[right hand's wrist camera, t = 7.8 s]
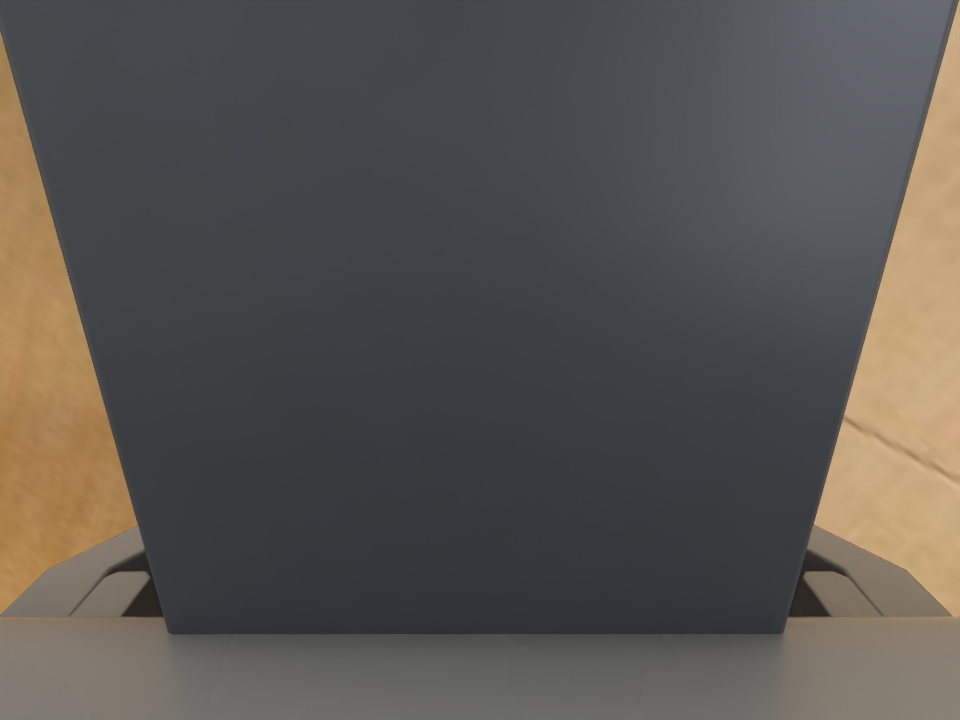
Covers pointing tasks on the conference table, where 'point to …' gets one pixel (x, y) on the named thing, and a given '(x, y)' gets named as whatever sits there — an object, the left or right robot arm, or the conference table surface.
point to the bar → (475, 293)
